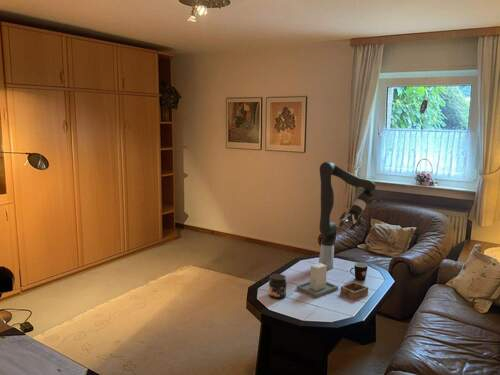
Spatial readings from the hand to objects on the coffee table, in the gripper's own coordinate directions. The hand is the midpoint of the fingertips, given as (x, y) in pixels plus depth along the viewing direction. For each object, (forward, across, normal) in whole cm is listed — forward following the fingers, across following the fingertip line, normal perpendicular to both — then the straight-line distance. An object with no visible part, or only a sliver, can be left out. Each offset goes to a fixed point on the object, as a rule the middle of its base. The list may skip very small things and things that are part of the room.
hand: (345, 228), depth 256 cm
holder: (+31, +15, +20) cm, 40 cm away
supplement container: (+59, -11, -7) cm, 61 cm away
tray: (+40, -3, +11) cm, 42 cm away
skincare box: (+40, -3, +11) cm, 41 cm away
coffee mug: (+17, +2, +36) cm, 39 cm away
